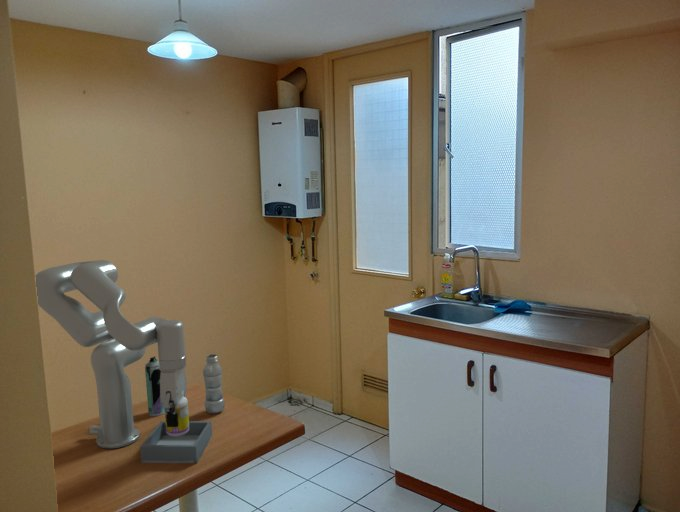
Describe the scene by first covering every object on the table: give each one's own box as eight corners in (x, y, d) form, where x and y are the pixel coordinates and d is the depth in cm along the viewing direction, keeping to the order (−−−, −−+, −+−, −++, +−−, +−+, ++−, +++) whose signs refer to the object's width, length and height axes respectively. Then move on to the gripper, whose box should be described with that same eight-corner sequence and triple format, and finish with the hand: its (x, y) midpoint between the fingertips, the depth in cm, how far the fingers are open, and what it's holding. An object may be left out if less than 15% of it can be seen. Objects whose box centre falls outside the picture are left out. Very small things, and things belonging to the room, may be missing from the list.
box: (141, 462, 157) (140, 446, 157) (161, 436, 173) (160, 421, 173) (196, 463, 157) (195, 446, 156) (212, 436, 173) (211, 421, 172)
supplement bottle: (161, 434, 163) (158, 392, 161) (178, 425, 169) (175, 385, 167) (177, 439, 160) (174, 396, 158) (194, 429, 165) (191, 388, 163)
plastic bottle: (220, 416, 187) (217, 359, 184) (201, 415, 188) (198, 358, 185) (227, 408, 193) (225, 353, 190) (209, 407, 194) (206, 352, 191)
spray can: (162, 416, 188) (158, 359, 185) (146, 416, 188) (141, 360, 185) (167, 409, 193) (163, 354, 190) (151, 409, 193) (147, 354, 190)
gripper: (170, 353, 170) (174, 408, 172) (148, 373, 153) (153, 434, 155) (194, 353, 169) (198, 408, 172) (175, 373, 152) (179, 434, 155)
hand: (177, 420), depth 164 cm, fingers closed on supplement bottle, 6 cm apart
